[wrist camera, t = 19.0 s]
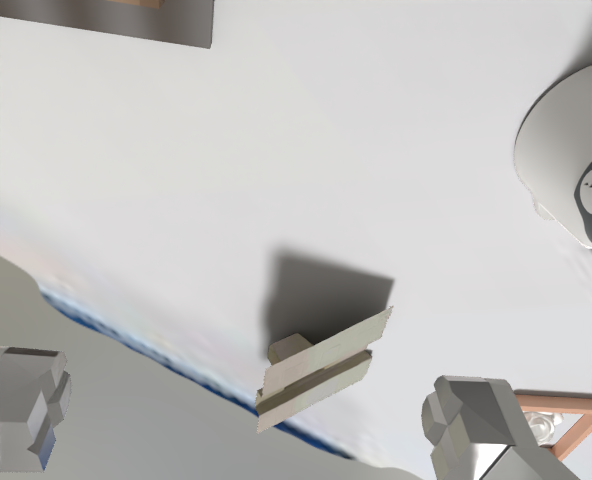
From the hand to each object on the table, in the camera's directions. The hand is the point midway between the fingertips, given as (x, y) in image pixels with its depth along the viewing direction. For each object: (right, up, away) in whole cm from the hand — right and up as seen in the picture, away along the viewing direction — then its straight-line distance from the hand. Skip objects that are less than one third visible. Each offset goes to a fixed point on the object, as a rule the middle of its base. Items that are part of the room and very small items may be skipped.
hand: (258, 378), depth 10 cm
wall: (+4, -10, +52) cm, 53 cm away
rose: (+38, -26, +67) cm, 81 cm away
